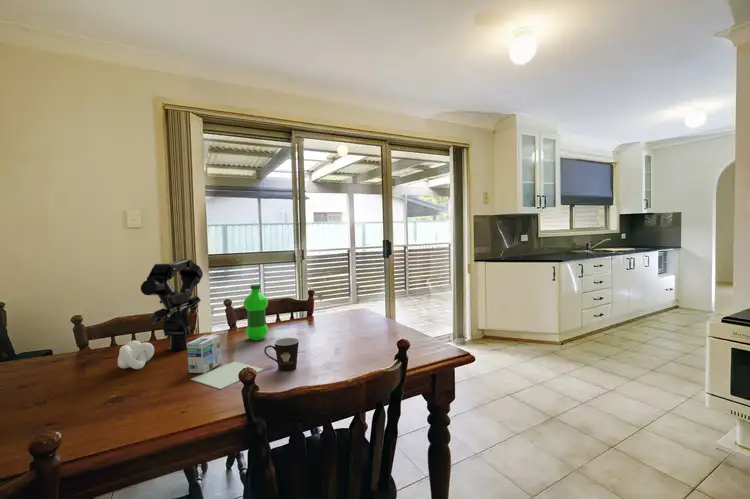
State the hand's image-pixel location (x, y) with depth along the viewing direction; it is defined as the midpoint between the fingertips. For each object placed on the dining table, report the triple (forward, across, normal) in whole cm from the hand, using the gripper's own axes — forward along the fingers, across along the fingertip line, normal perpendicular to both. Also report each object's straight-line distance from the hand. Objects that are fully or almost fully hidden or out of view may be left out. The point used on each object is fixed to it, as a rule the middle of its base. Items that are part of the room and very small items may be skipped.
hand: (187, 327), depth 143 cm
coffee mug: (+34, +6, -26) cm, 43 cm away
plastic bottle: (+18, +29, +5) cm, 34 cm away
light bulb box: (+18, -6, -5) cm, 19 cm away
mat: (+24, -6, -16) cm, 30 cm away
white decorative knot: (+3, -15, +16) cm, 22 cm away
